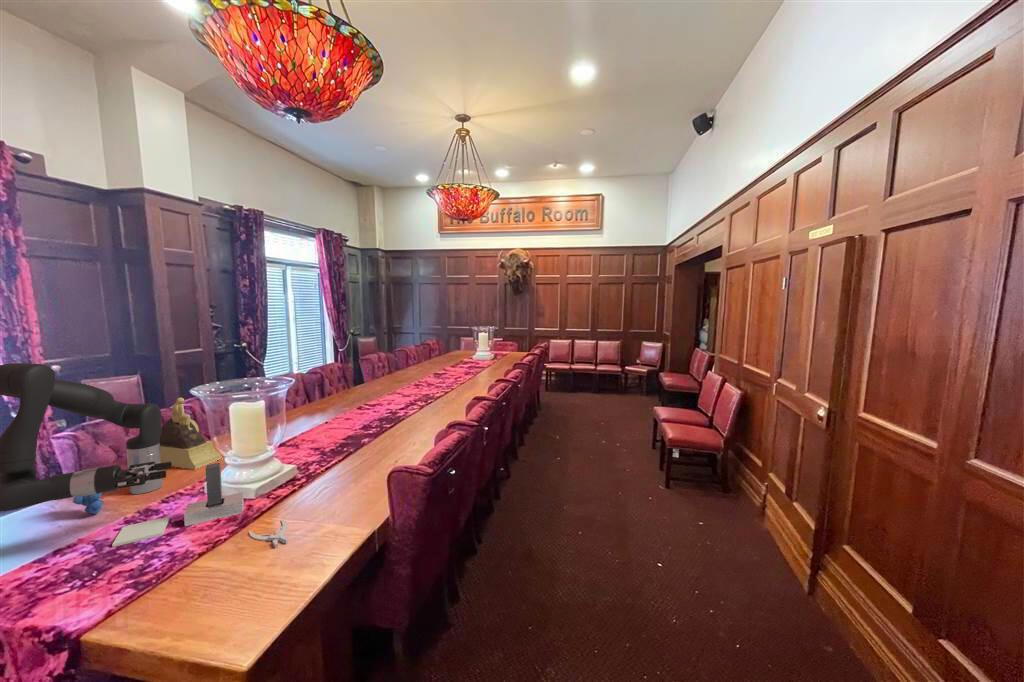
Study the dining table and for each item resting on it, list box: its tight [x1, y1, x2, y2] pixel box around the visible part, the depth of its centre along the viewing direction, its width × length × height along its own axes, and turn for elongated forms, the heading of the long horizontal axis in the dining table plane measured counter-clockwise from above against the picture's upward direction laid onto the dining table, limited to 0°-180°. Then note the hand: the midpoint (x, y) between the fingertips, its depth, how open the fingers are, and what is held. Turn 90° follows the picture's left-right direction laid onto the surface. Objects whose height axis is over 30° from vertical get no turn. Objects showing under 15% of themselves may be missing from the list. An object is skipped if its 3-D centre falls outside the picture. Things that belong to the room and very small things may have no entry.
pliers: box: [248, 519, 289, 549], centre depth 118 cm, size 10×2×15 cm
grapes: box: [72, 493, 104, 515], centre depth 129 cm, size 12×7×12 cm, turn 65°
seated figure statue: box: [160, 397, 224, 470], centre depth 173 cm, size 28×13×30 cm, turn 77°
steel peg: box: [205, 462, 223, 507], centre depth 129 cm, size 4×4×17 cm
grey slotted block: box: [183, 492, 245, 527], centre depth 130 cm, size 8×15×4 cm, turn 123°
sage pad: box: [111, 516, 170, 548], centre depth 119 cm, size 11×11×1 cm
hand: (168, 469), depth 123 cm, fingers open, 8 cm apart
